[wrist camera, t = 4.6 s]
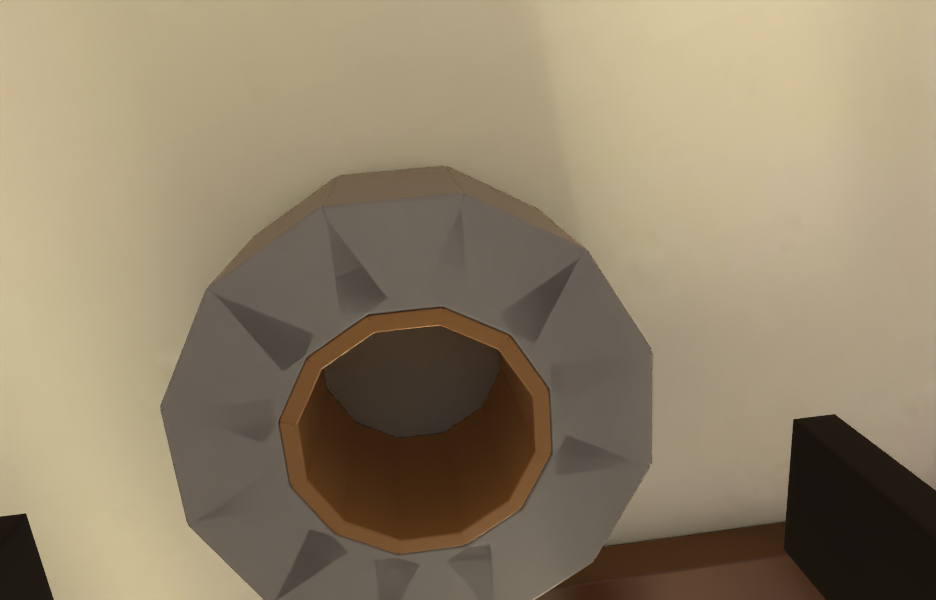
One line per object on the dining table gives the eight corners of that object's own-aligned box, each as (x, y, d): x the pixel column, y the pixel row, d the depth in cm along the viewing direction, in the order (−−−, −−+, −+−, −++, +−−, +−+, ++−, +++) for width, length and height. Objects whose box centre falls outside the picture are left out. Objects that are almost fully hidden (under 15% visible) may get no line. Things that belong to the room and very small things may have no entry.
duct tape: (257, 536, 21) (218, 664, 17) (187, 189, 18) (116, 224, 13) (596, 491, 22) (652, 601, 18) (588, 152, 19) (654, 174, 14)
